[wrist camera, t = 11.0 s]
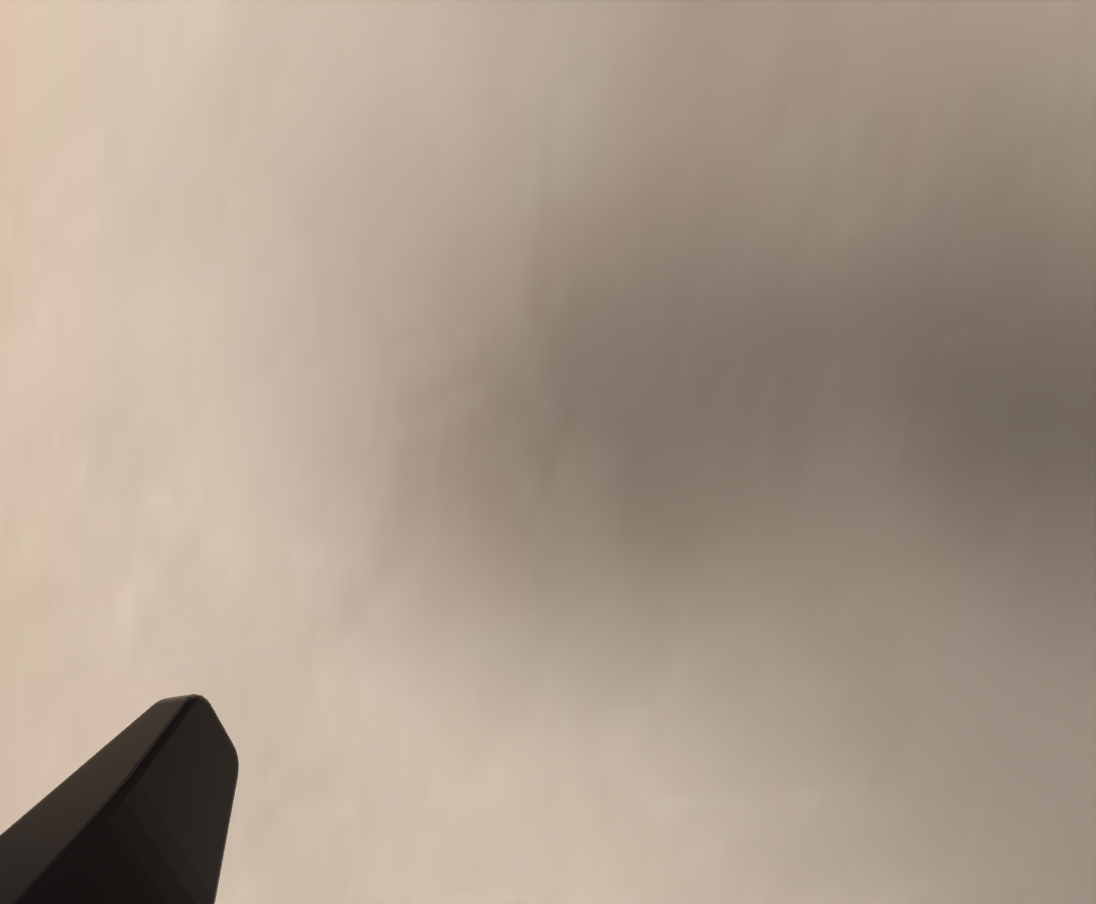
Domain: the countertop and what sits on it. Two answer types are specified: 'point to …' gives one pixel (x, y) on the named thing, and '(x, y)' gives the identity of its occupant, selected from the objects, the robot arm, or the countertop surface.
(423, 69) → the countertop surface
